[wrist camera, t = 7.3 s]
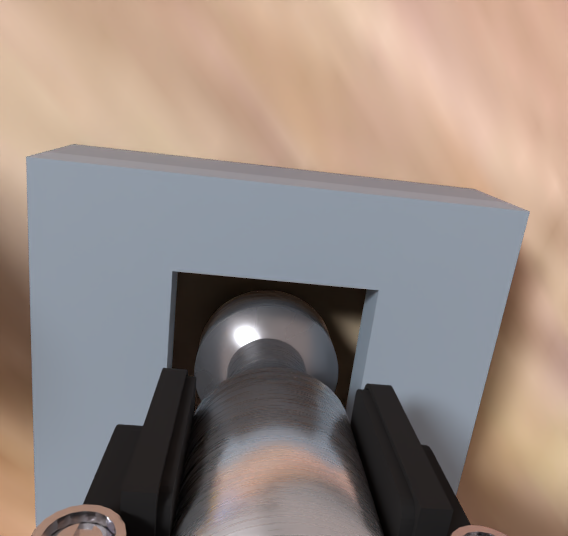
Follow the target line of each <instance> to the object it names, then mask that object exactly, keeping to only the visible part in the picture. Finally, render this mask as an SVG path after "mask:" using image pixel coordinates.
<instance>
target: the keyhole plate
mask: <svg viewBox="0 0 568 536" xmlns="http://www.w3.org/2000/svg"><path fill="white" fill-rule="evenodd" d="M26 165H27V203H28V241H29V280H30V318H31V357H32V395H33V433H34V472H35V510H36V527H37V526H38V525H39V524H40V523H41V522H42V521H43V520H44V519H46V518H47V517H49V516H51V515H52V514H54V513H55V512H57V511H60V510H63V509H65V508H68V507H71V506H78V505H83V502H84V500H85V498H86V495H87V493H88V491H89V488H90V486H91V483H92V481H93V479H94V476H95V474H96V472H97V469H98V467H99V465H100V462H101V460H102V457H103V455H104V453H105V450H106V448H107V446H108V443H109V441H110V438H111V436H112V434H113V431H114V429H115V427H116V425H118V424H124V425H139V426H143V425H144V422H145V419H146V416H147V413H148V410H149V407H150V404H151V401H152V398H153V395H154V392H155V389H156V386H157V383H158V380H159V377H160V374H161V371H162V369H163V368H172V358H173V342H174V325H175V309H176V293H177V276H178V272H187V273H198V274H209V275H219V276H230V277H241V278H252V279H263V280H274V281H284V282H295V283H306V284H317V285H328V286H338V287H349V288H360V289H367V290H366V295H365V301H364V307H363V313H362V318H361V324H360V330H359V335H358V341H357V347H356V353H355V358H354V364H353V370H352V376H351V381H350V387H349V393H348V399H347V404H346V410H345V411H346V414H347V417H348V419H349V423H351V417H352V411H353V405H354V400H355V395H356V391H357V390H358V389H364V387H365V385H366V384H367V383H368V384H381V385H391V386H392V387H393V389H394V391H395V393H396V395H397V397H398V399H399V401H400V403H401V405H402V407H403V409H404V411H405V413H406V415H407V417H408V419H409V421H410V423H411V425H412V427H413V429H414V431H415V433H416V435H417V437H418V439H419V441H420V443H421V444H422V445H427V446H429V447H430V448H431V450H432V451H433V453H434V455H435V457H436V459H437V461H438V463H439V465H440V467H441V469H442V470H443V472H444V474H445V476H446V478H447V480H448V482H449V484H450V486H451V488H452V490H453V492H454V494H455V495H456V494H457V490H458V486H459V483H460V479H461V475H462V471H463V467H464V463H465V459H466V456H467V452H468V448H469V444H470V440H471V436H472V432H473V429H474V425H475V421H476V417H477V413H478V409H479V405H480V402H481V398H482V394H483V390H484V386H485V382H486V378H487V375H488V371H489V367H490V363H491V359H492V355H493V351H494V348H495V344H496V340H497V336H498V332H499V328H500V324H501V321H502V317H503V313H504V309H505V305H506V301H507V297H508V294H509V290H510V286H511V282H512V278H513V274H514V270H515V267H516V263H517V259H518V255H519V251H520V247H521V243H522V240H523V236H524V232H525V228H526V224H527V220H528V216H529V213H530V212H529V211H527V210H524V209H522V208H519V207H517V206H515V205H512V204H510V203H507V202H505V201H502V200H500V199H497V198H495V197H493V196H490V195H488V194H485V193H483V192H480V191H478V190H475V189H469V188H460V187H451V186H442V185H433V184H424V183H415V182H406V181H397V180H388V179H379V178H370V177H362V176H353V175H344V174H335V173H326V172H317V171H308V170H299V169H290V168H281V167H272V166H263V165H254V164H246V163H237V162H228V161H219V160H210V159H201V158H192V157H183V156H174V155H165V154H156V153H147V152H139V151H130V150H121V149H112V148H103V147H94V146H85V145H76V144H73V145H69V146H65V147H61V148H58V149H54V150H50V151H46V152H42V153H39V154H35V155H31V156H27V157H26Z"/></svg>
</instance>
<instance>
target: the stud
mask: <svg viewBox="0 0 568 536" xmlns="http://www.w3.org/2000/svg"><path fill="white" fill-rule="evenodd" d="M194 377H196V389H197V393H198V395H199V398H200V400H201V403H200V405H199V406H198V408H197V410H196V412H195V414H194V417H193V422H192V428H191V433H190V438H189V444H188V449H187V454H186V460H185V465H184V470H183V476H182V481H181V486H180V492H179V497H178V503H177V508H176V513H175V519H174V524H173V529H172V535H171V536H384V533H383V530H382V527H381V524H380V520H379V517H378V514H377V511H376V507H375V504H374V501H373V498H372V494H371V491H370V488H369V485H368V481H367V478H366V475H365V472H364V468H363V465H362V462H361V459H360V455H359V452H358V449H357V446H356V442H355V439H354V436H353V433H352V429H351V426H350V423H349V419H348V417H347V414H346V411H345V409H344V407H343V405H342V403H341V401H340V400H339V399H338V397H337V396H336V395H335V393H334V391H335V389H336V385H337V381H338V361H337V356H336V353H335V350H334V347H333V344H332V341H331V338H330V335H329V332H328V329H327V327H326V325H325V323H324V321H323V319H322V318H321V317H320V315H319V314H318V313H317V312H316V311H315V309H314V308H313V307H311V306H310V305H309V304H308V303H306V302H305V301H303V300H302V299H300V298H298V297H296V296H294V295H291V294H288V293H285V292H281V291H275V290H258V291H252V292H247V293H244V294H241V295H238V296H236V297H234V298H232V299H230V300H229V301H227V302H226V303H224V304H223V305H222V306H221V307H219V308H218V309H217V310H216V311H215V312H214V314H213V315H212V316H211V317H210V319H209V320H208V322H207V323H206V325H205V327H204V329H203V332H202V335H201V338H200V343H199V347H198V352H197V356H196V361H195V368H194Z"/></svg>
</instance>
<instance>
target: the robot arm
mask: <svg viewBox="0 0 568 536" xmlns="http://www.w3.org/2000/svg"><path fill="white" fill-rule="evenodd" d="M195 393H196V377H193V376H188V370H186V369H173V368H163V369H162V371H161V374H160V377H159V380H158V383H157V386H156V389H155V392H154V395H153V398H152V401H151V404H150V407H149V410H148V413H147V416H146V419H145V422H144V425H143V426H139V425H124V424H118V425H116V427H115V429H114V431H113V434H112V436H111V438H110V441H109V443H108V446H107V448H106V450H105V453H104V455H103V457H102V460H101V462H100V465H99V467H98V469H97V472H96V474H95V476H94V479H93V481H92V483H91V486H90V488H89V491H88V493H87V495H86V498H85V500H84V502H83V505H78V506H71V507H68V508H65V509H63V510H60V511H57V512H55V513H54V514H52V515H51V516H49V517H47V518H46V519H44V520H43V521H42V522H41V523H40V524H39V525H38V526H37V527H36V528H35V530H34V531H33V533H32V535H31V536H171V535H172V529H173V524H174V519H175V513H176V508H177V503H178V497H179V492H180V486H181V481H182V476H183V470H184V465H185V460H186V454H187V449H188V444H189V438H190V433H191V428H192V422H193V417H194V405H195ZM350 426H351V429H352V433H353V436H354V439H355V442H356V446H357V449H358V452H359V455H360V459H361V462H362V465H363V468H364V472H365V475H366V478H367V481H368V485H369V488H370V491H371V494H372V498H373V501H374V504H375V507H376V511H377V514H378V517H379V520H380V524H381V527H382V530H383V533H384V536H508V535H506V534H503V533H501V532H499V531H497V530H495V529H492V528H488V527H484V526H478V525H471V524H470V522H469V520H468V519H467V517H466V515H465V513H464V511H463V509H462V507H461V505H460V503H459V501H458V499H457V497H456V495H455V494H454V492H453V490H452V488H451V486H450V484H449V482H448V480H447V478H446V476H445V474H444V472H443V470H442V469H441V467H440V465H439V463H438V461H437V459H436V457H435V455H434V453H433V451H432V450H431V448H430V447H429V446H427V445H422V444H421V443H420V441H419V439H418V437H417V435H416V433H415V431H414V429H413V427H412V425H411V423H410V421H409V419H408V417H407V415H406V413H405V411H404V409H403V407H402V405H401V403H400V401H399V399H398V397H397V395H396V393H395V391H394V389H393V387H392V386H391V385H381V384H368V383H367V384H366V385H365V387H364V389H358V390H357V391H356V395H355V400H354V405H353V411H352V417H351V423H350Z"/></svg>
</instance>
